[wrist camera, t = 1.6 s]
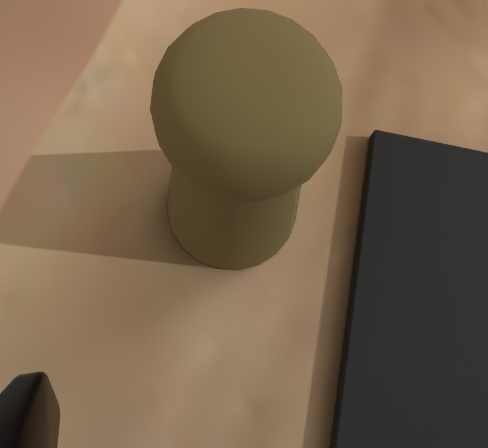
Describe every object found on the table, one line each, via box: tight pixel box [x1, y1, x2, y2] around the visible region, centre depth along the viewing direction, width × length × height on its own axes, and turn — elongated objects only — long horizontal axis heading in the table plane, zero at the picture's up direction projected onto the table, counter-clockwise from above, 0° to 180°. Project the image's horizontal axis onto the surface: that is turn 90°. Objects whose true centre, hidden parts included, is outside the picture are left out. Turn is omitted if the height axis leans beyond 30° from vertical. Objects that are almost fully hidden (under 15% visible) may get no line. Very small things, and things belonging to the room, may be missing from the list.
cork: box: [150, 8, 342, 270], centre depth 16 cm, size 6×6×11 cm
